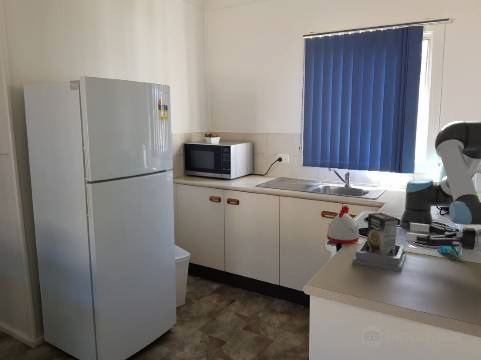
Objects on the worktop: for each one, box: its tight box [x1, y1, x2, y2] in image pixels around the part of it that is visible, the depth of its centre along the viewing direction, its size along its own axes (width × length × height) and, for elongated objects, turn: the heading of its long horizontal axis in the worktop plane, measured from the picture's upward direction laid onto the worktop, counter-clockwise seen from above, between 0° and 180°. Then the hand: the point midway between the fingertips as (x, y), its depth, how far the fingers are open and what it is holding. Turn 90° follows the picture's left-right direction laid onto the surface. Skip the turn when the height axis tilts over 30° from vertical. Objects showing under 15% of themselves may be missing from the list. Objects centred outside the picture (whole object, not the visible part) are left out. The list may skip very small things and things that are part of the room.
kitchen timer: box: [326, 205, 360, 245], centre depth 174 cm, size 14×14×15 cm
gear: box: [437, 246, 460, 259], centre depth 155 cm, size 11×6×10 cm
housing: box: [352, 239, 407, 272], centre depth 150 cm, size 17×17×4 cm
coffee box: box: [366, 212, 398, 257], centre depth 149 cm, size 9×6×16 cm
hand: (408, 231), depth 144 cm, fingers open, 13 cm apart
